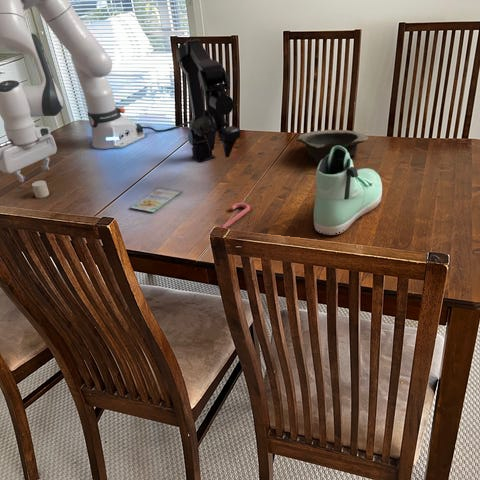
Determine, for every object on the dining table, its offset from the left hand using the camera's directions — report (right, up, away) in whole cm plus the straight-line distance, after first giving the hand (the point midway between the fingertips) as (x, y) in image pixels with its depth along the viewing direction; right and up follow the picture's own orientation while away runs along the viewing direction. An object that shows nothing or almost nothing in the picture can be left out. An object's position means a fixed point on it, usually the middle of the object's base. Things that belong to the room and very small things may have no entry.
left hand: (34, 175), depth 158 cm
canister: (+1, -6, +4) cm, 7 cm away
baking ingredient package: (+41, -9, -6) cm, 43 cm away
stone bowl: (+101, +9, +16) cm, 103 cm away
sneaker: (+99, -12, -19) cm, 102 cm away
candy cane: (+66, -15, -20) cm, 70 cm away
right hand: (+61, +7, 0) cm, 62 cm away
